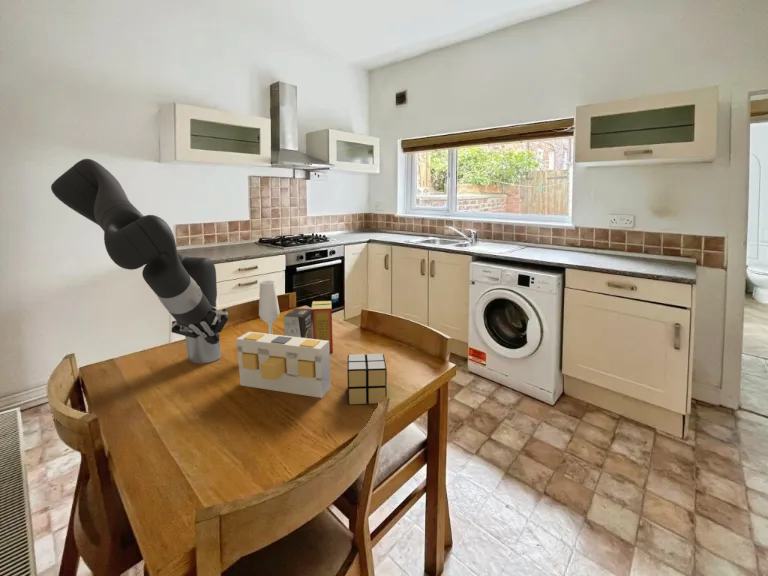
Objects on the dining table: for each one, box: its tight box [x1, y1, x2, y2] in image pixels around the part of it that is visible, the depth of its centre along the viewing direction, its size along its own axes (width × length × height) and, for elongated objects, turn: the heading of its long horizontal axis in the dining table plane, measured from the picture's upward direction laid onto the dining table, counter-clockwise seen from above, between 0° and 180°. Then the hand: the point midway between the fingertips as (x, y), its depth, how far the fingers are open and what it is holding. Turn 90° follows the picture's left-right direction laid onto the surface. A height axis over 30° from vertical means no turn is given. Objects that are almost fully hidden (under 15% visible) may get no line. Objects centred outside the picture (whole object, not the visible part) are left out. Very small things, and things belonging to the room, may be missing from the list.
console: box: [236, 331, 331, 399], centre depth 114 cm, size 25×6×14 cm, turn 74°
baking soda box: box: [311, 300, 334, 354], centre depth 142 cm, size 10×6×16 cm
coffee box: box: [283, 307, 314, 339], centre depth 132 cm, size 9×6×16 cm
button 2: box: [261, 356, 287, 381], centre depth 109 cm, size 4×6×4 cm
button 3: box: [298, 360, 316, 378], centre depth 111 cm, size 4×6×4 cm
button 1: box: [242, 352, 259, 370], centre depth 115 cm, size 4×6×4 cm
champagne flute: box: [258, 280, 280, 334], centre depth 138 cm, size 7×7×24 cm
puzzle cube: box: [347, 353, 388, 406], centre depth 110 cm, size 10×10×10 cm
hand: (215, 340), depth 99 cm, fingers closed
